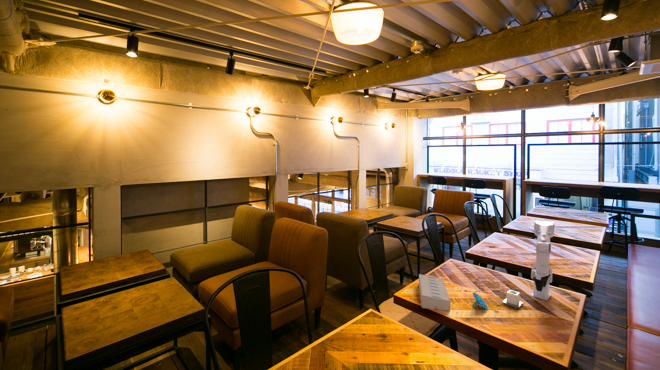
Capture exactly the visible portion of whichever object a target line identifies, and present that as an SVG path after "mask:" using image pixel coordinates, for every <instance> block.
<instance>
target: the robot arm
mask: <svg viewBox="0 0 660 370" xmlns="http://www.w3.org/2000/svg"><path fill="white" fill-rule="evenodd" d="M555 225H556V224H555V222H554V221H543V220H542V221H541V220H534V226H533V230H534V231H533V232H534V235H535V236H536V237H537V241H536V243H535V254H536V255H535V264H533V265H531V266H532V267H531V273H530V278H531V279H532V280H533V288H532V289H533V290H532V293H530V296H531V297H533V298H537V299H541V300H544V301H548V300H549V299H550V297H551V296H552V294H550V283H551V284H552V282H553V269H552V268H551V267H550V254H551V253H552V243H551V238H553V237H554V235H555Z"/></svg>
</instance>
